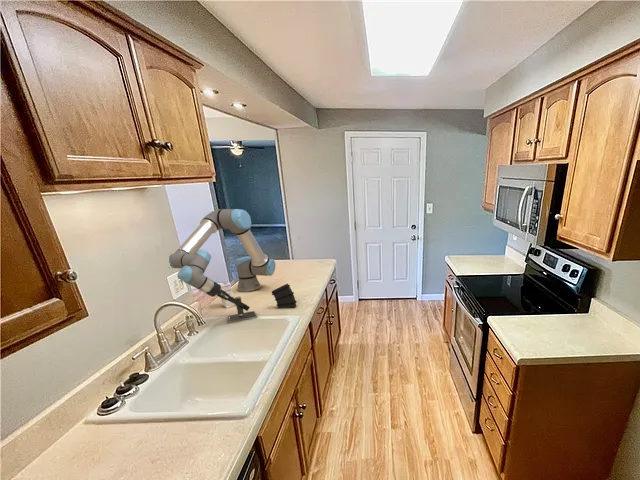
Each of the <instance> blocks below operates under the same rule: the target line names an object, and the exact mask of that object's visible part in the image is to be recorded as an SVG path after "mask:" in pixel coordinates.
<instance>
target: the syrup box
mask: <svg viewBox="0 0 640 480" xmlns="http://www.w3.org/2000/svg"><path fill="white" fill-rule="evenodd" d="M219 284H220V285H221V289H220V290H223V291H225V292H226V293H227V294H229V295H230V296H231V297H233V298H234V293H233V289H232V285H231V283H230V282H227V281H225V282H221V283H219ZM220 300H221V304H222V306H223V307H224V308H227V309H228V308H231V307H235V306H236V305H235V304H234V303H232V302H230V301H228V300H225V299H223V298H220Z"/></svg>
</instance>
